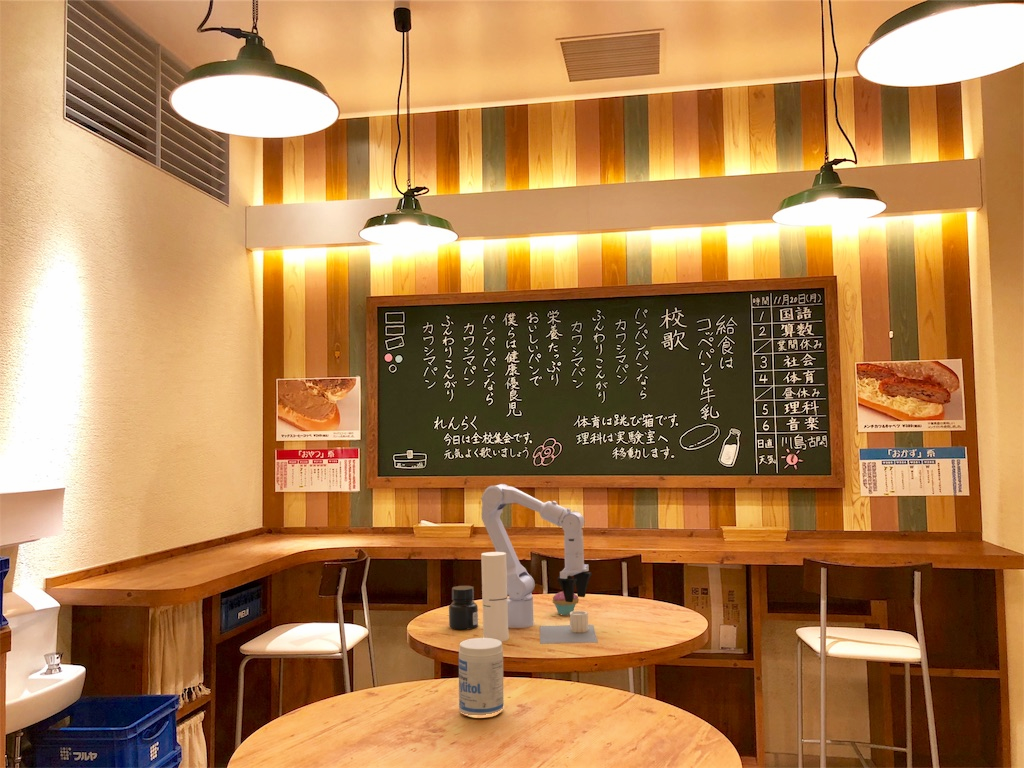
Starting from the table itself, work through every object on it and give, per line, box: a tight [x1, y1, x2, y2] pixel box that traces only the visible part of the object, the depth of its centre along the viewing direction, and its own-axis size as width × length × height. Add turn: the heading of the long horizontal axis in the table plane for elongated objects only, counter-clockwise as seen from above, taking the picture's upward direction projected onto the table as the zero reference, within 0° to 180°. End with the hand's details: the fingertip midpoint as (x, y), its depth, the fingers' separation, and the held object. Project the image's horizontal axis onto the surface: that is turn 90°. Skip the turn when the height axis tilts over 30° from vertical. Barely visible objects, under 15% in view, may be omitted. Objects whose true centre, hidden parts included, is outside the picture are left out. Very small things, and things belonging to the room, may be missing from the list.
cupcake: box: [552, 590, 580, 616], centre depth 263 cm, size 9×8×12 cm
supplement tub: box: [458, 637, 505, 715], centre depth 173 cm, size 10×10×15 cm
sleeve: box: [569, 610, 589, 632], centre depth 237 cm, size 5×5×5 cm
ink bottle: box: [448, 585, 479, 631], centre depth 249 cm, size 10×9×12 cm
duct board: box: [539, 624, 599, 645], centre depth 233 cm, size 16×20×6 cm
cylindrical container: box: [480, 551, 510, 643], centre depth 230 cm, size 7×7×25 cm
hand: (575, 599), depth 240 cm, fingers open, 7 cm apart
